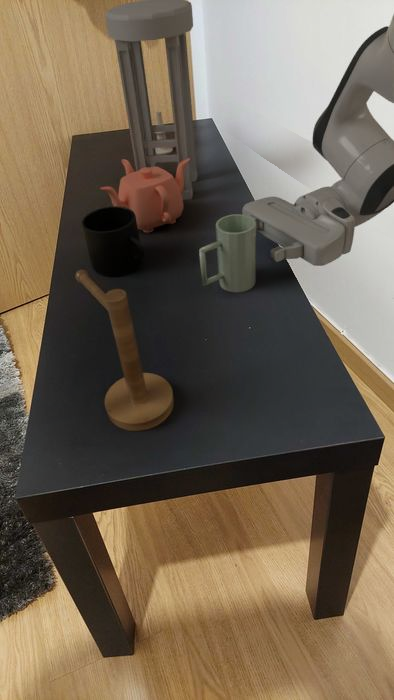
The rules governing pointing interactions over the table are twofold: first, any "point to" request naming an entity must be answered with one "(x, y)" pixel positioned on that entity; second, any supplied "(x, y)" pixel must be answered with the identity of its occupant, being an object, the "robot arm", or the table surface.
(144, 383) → the mug stand
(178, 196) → the teapot
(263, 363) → the table surface
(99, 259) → the mug
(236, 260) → the cup
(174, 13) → the stool
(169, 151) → the candle
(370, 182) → the robot arm
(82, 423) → the table surface
